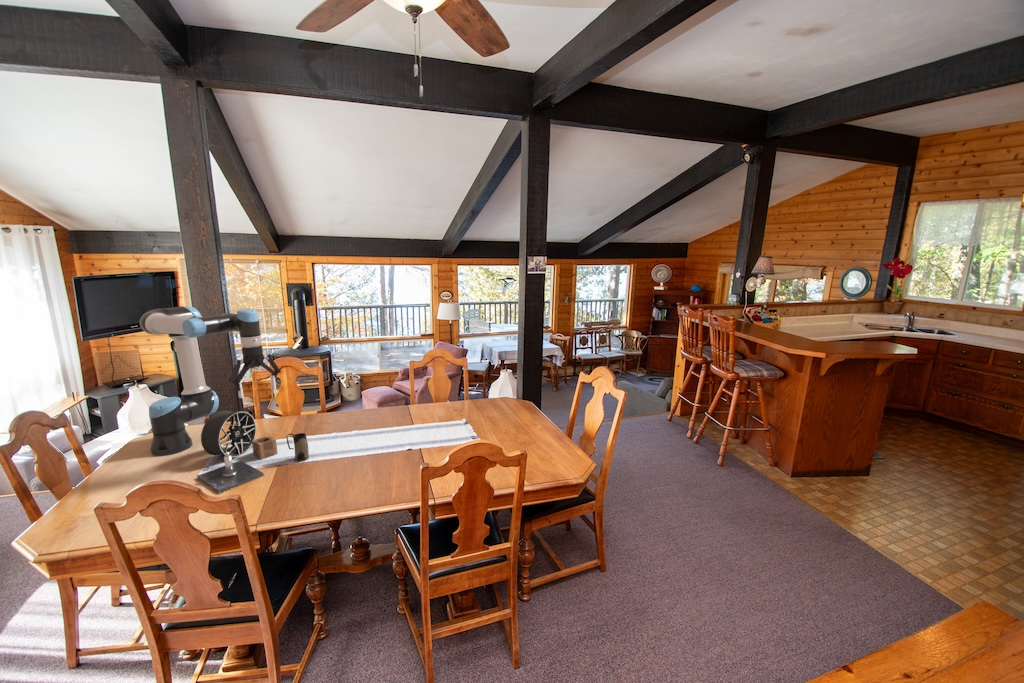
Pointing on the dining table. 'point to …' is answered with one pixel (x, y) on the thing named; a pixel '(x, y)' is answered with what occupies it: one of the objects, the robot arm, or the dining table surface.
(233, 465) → the shaft stand
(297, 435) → the mug
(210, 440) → the wheel rim
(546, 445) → the dining table surface
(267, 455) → the hollow wooden cube
